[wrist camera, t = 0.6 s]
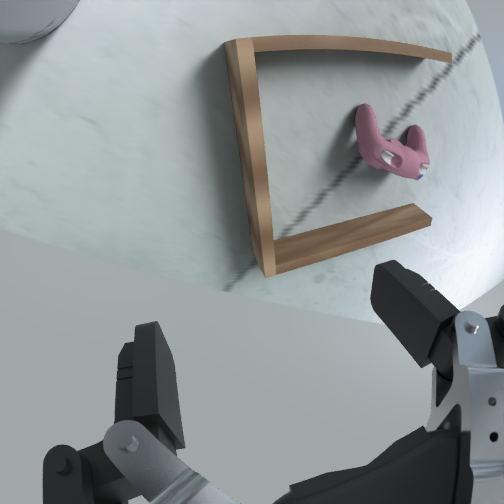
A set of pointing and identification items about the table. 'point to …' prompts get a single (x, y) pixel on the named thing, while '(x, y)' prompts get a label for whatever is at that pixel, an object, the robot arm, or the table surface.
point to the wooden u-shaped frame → (255, 169)
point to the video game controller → (390, 147)
